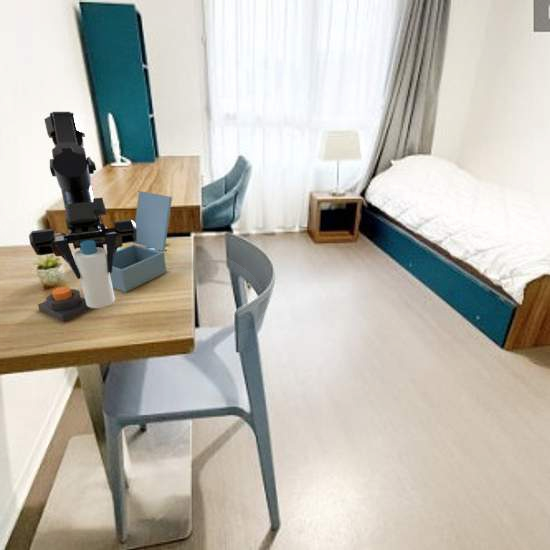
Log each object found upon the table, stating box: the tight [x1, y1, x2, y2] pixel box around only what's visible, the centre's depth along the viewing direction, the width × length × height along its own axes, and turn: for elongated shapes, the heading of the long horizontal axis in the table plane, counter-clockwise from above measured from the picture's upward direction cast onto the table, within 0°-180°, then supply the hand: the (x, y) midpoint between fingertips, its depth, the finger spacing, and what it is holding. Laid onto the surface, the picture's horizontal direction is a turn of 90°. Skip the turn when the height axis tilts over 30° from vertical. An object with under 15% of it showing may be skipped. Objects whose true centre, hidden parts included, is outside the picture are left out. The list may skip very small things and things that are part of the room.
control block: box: [37, 288, 92, 323], centre depth 81 cm, size 9×7×4 cm
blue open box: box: [106, 243, 167, 293], centre depth 96 cm, size 14×12×6 cm
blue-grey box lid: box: [132, 190, 173, 252], centre depth 99 cm, size 14×12×1 cm
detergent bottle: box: [73, 240, 116, 309], centre depth 73 cm, size 5×5×13 cm
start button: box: [51, 286, 72, 301], centre depth 80 cm, size 4×4×2 cm
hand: (94, 275), depth 71 cm, fingers closed on detergent bottle, 5 cm apart
